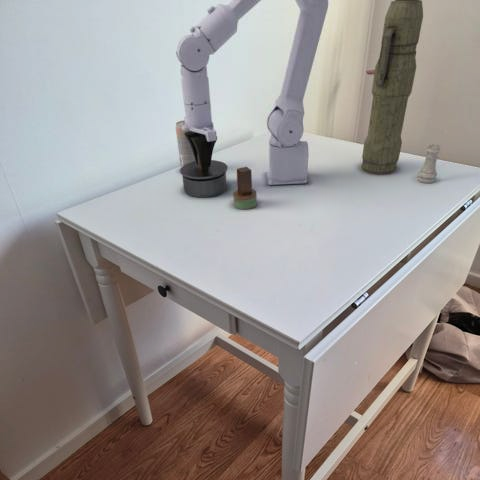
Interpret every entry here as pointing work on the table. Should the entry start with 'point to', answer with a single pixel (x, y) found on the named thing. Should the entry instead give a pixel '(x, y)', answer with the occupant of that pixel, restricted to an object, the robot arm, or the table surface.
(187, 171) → the tin lid
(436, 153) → the rook chess piece
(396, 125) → the green robed figurine
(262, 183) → the table surface
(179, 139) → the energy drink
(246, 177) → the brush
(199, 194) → the tin
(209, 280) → the table surface
